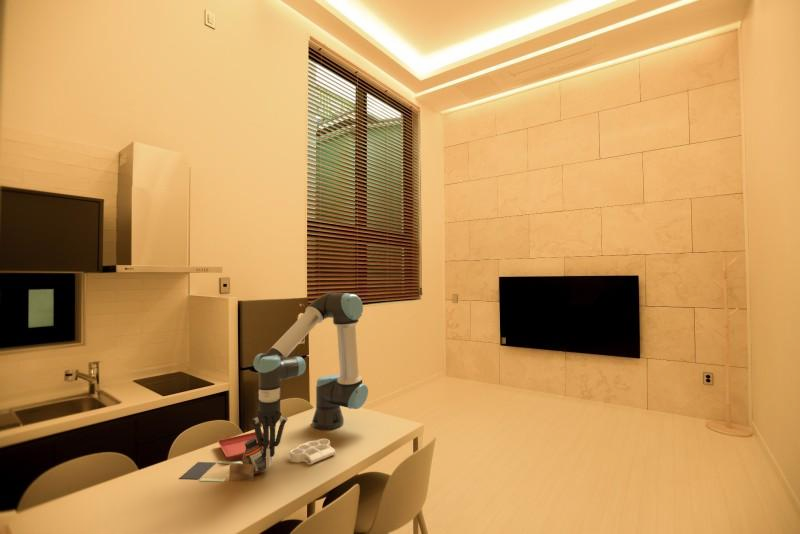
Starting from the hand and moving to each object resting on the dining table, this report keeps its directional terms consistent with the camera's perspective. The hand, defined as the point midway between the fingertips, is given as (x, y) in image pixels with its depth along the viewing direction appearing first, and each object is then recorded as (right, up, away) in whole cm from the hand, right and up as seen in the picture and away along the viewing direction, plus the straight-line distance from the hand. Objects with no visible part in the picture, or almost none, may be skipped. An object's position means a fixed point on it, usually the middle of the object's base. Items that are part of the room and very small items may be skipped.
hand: (269, 465), depth 140 cm
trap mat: (-26, -3, +1) cm, 27 cm away
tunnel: (-8, -3, +1) cm, 8 cm away
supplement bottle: (-3, -2, 0) cm, 3 cm away
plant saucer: (-16, -4, +19) cm, 25 cm away
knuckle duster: (+12, -4, +15) cm, 20 cm away
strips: (-18, -3, +1) cm, 18 cm away
